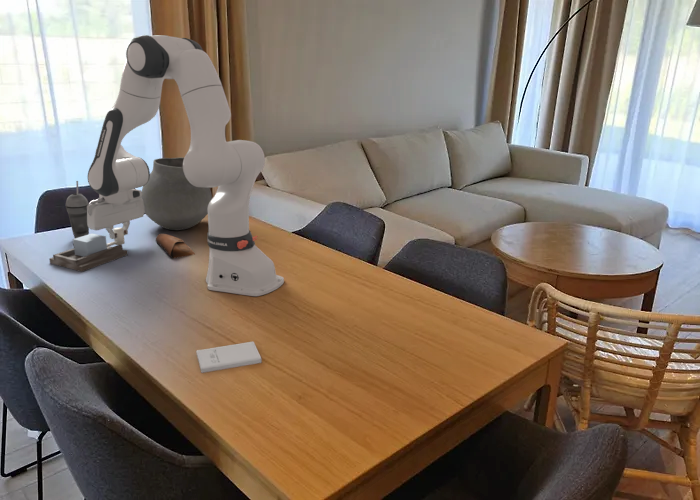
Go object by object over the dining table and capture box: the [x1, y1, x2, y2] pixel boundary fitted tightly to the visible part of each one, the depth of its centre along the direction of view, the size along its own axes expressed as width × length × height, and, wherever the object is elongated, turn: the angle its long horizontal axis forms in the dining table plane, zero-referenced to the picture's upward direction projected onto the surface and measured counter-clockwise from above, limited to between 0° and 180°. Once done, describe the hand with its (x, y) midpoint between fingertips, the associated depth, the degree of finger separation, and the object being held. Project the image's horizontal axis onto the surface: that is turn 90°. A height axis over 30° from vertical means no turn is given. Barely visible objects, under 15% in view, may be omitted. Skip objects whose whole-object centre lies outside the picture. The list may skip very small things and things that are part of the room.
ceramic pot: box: [141, 157, 213, 231], centre depth 205 cm, size 24×24×25 cm
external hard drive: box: [195, 341, 262, 374], centre depth 120 cm, size 2×8×12 cm
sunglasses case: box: [155, 233, 196, 259], centre depth 186 cm, size 18×7×7 cm
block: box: [72, 227, 126, 257], centre depth 178 cm, size 6×16×5 cm, turn 153°
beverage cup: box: [65, 180, 90, 239], centre depth 191 cm, size 7×7×20 cm
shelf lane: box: [48, 244, 128, 273], centre depth 175 cm, size 14×17×3 cm
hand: (119, 236), depth 184 cm, fingers closed on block, 3 cm apart
